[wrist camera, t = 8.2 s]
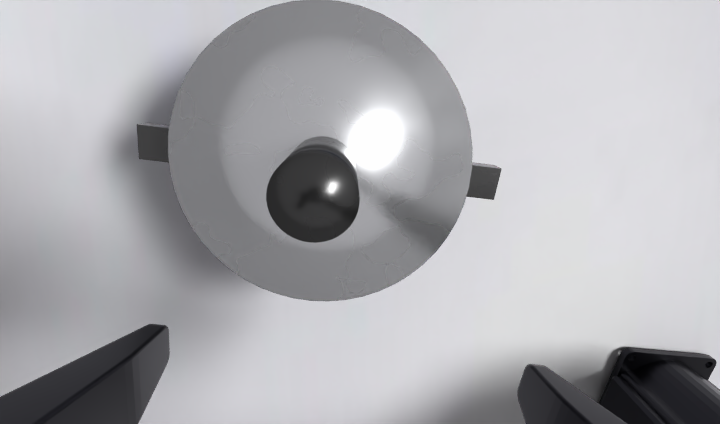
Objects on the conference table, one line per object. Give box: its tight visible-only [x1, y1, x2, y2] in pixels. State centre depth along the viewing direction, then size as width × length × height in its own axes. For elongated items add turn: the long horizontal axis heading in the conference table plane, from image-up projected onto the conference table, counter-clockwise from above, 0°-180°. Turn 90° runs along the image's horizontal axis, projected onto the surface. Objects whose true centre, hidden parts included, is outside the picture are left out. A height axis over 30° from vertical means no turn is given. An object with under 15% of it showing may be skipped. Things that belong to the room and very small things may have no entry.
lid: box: [168, 0, 472, 301], centre depth 13 cm, size 12×12×6 cm
